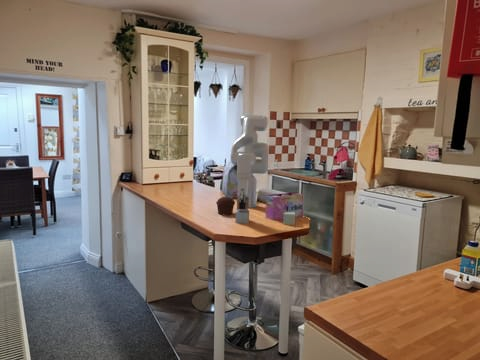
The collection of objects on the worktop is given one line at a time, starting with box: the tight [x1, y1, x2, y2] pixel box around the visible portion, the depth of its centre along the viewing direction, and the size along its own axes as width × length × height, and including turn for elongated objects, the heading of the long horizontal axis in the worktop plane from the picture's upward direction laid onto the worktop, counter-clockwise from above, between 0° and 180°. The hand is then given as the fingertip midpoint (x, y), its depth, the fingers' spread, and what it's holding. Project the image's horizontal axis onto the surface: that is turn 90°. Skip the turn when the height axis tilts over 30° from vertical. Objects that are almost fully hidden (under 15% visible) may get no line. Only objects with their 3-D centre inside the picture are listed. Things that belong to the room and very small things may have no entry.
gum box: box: [265, 191, 304, 221], centre depth 216 cm, size 24×8×14 cm, turn 122°
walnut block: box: [236, 197, 250, 211], centre depth 201 cm, size 6×6×6 cm
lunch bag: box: [221, 159, 240, 199], centre depth 274 cm, size 22×17×26 cm
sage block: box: [282, 211, 296, 226], centre depth 202 cm, size 6×6×6 cm
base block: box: [234, 209, 250, 224], centre depth 202 cm, size 7×7×6 cm
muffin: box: [215, 196, 236, 216], centre depth 219 cm, size 12×11×10 cm
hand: (242, 207), depth 202 cm, fingers closed on walnut block, 5 cm apart
